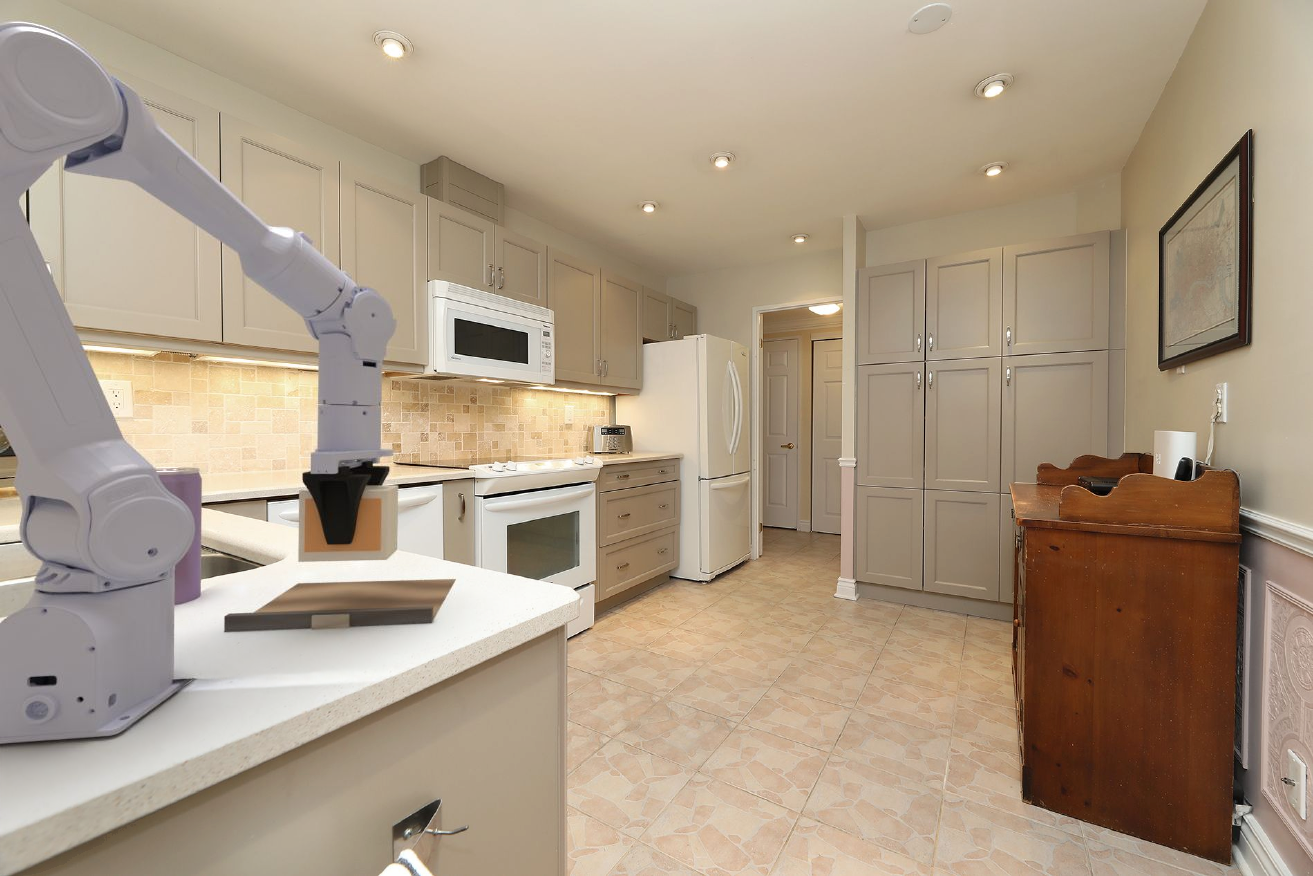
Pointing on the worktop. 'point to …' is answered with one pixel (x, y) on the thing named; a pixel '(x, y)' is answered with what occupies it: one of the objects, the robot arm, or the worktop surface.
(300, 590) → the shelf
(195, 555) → the beverage can
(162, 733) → the worktop surface
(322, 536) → the product box
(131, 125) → the robot arm
